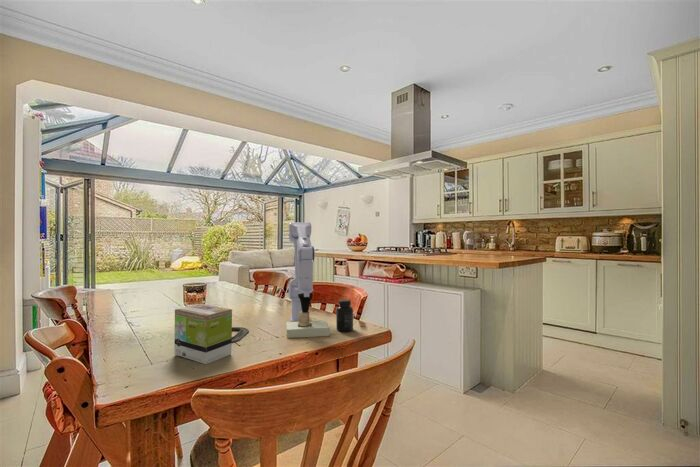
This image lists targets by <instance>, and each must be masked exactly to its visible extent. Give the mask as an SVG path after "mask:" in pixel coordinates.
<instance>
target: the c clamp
mask: <svg viewBox="0 0 700 467" xmlns="http://www.w3.org/2000/svg"><path fill="white" fill-rule="evenodd" d="M232 332H237V333H236V334H234V336H232V344H234V343H237V342H240V341H241V340H242V339H243V338H244V337H245V336H247V335H248V333H249V332H250V330H249V328H247V327H240V326H239V327H238V326H232Z"/></svg>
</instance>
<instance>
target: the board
mask: <svg viewBox="0 0 700 467" xmlns="http://www.w3.org/2000/svg"><path fill="white" fill-rule="evenodd" d="M285 326H286V327H285V328H286V329H285V330H286V338H287V339H291V338H292V339H294V338H308V337H309V338H310V337H311V338H312V337H313V338H314V337H328V336H330V335H331V330H330V329H331V328H330V326H329V323H328V321H327V320H309V327H299V321H293V322H291V321H287V322H286V325H285Z"/></svg>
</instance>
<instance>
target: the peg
mask: <svg viewBox="0 0 700 467" xmlns="http://www.w3.org/2000/svg"><path fill="white" fill-rule="evenodd" d="M309 321H310V311H308V313H303V312H302V311H300V312H299V321H298V322H299V327H309Z"/></svg>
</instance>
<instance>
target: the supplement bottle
mask: <svg viewBox="0 0 700 467" xmlns="http://www.w3.org/2000/svg"><path fill="white" fill-rule="evenodd" d="M351 305H352V304H351V299H348V298H347V299H344V298H343V299H338V307H337V308H336V309H335V310H336V311H335V312H336V313H335V314H336V316H335V318H336V325H335V326H336V331H337V332H340V333H350V332H352V331H353V330H354V309H353V307H352V306H351Z"/></svg>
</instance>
